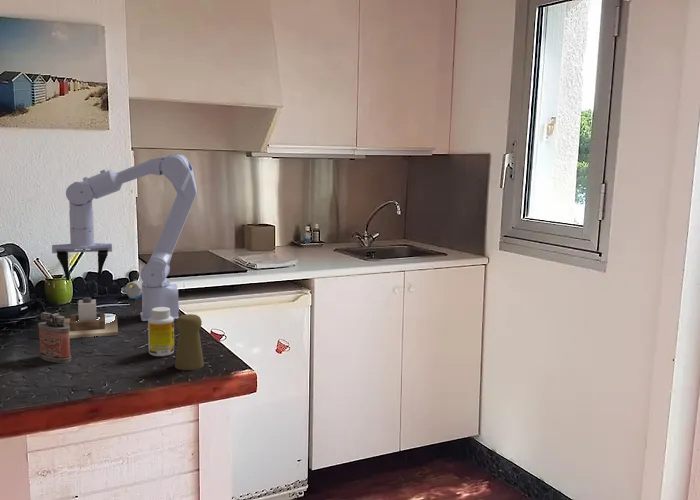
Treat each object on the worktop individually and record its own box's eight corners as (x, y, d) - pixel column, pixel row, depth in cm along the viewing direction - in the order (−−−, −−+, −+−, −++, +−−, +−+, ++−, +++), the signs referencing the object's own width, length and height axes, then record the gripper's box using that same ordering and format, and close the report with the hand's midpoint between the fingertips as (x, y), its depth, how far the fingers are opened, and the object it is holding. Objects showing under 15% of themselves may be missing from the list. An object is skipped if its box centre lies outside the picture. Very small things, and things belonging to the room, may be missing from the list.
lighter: (75, 359, 144) (73, 314, 142) (62, 363, 141) (60, 317, 139) (48, 353, 147) (46, 309, 146) (35, 357, 144) (33, 312, 143)
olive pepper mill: (200, 370, 139) (199, 319, 137) (171, 369, 139) (170, 318, 138) (206, 361, 145) (206, 312, 143) (179, 360, 145) (178, 311, 143)
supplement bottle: (176, 355, 149) (176, 310, 147) (151, 358, 146) (150, 313, 144) (171, 348, 153) (171, 305, 152) (146, 351, 151) (145, 307, 149)
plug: (96, 322, 170) (95, 295, 169) (96, 327, 166) (95, 299, 165) (79, 323, 169) (78, 296, 168) (79, 328, 164) (78, 300, 163)
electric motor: (119, 299, 199) (118, 282, 198) (126, 295, 203) (126, 279, 202) (140, 300, 198) (140, 284, 197) (148, 297, 202) (147, 281, 201)
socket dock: (117, 318, 177) (116, 308, 177) (118, 335, 163) (117, 324, 162) (59, 321, 173) (59, 311, 172) (55, 339, 158) (54, 327, 157)
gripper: (50, 230, 168) (52, 283, 170) (111, 229, 172) (113, 281, 175) (52, 226, 174) (54, 278, 176) (111, 226, 179) (112, 275, 181)
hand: (83, 279), depth 176 cm, fingers open, 7 cm apart
